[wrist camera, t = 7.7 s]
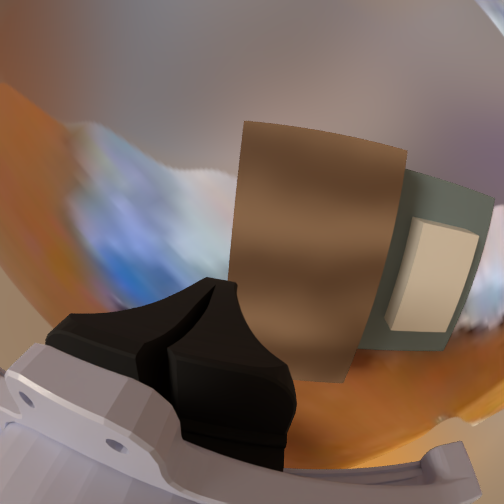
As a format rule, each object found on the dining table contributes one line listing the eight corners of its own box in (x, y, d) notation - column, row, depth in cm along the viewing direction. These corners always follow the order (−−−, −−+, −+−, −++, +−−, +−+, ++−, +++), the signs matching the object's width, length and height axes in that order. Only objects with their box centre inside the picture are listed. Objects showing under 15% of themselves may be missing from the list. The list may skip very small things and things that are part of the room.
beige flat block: (390, 330, 21) (384, 317, 22) (445, 332, 20) (436, 320, 22) (423, 222, 18) (412, 216, 19) (479, 235, 17) (466, 229, 19)
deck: (336, 353, 24) (343, 383, 21) (229, 340, 25) (220, 369, 21) (385, 150, 18) (407, 150, 15) (251, 127, 19) (243, 120, 15)
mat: (442, 349, 23) (443, 350, 23) (339, 345, 24) (340, 347, 24) (493, 197, 18) (495, 198, 18) (383, 163, 19) (385, 163, 18)
